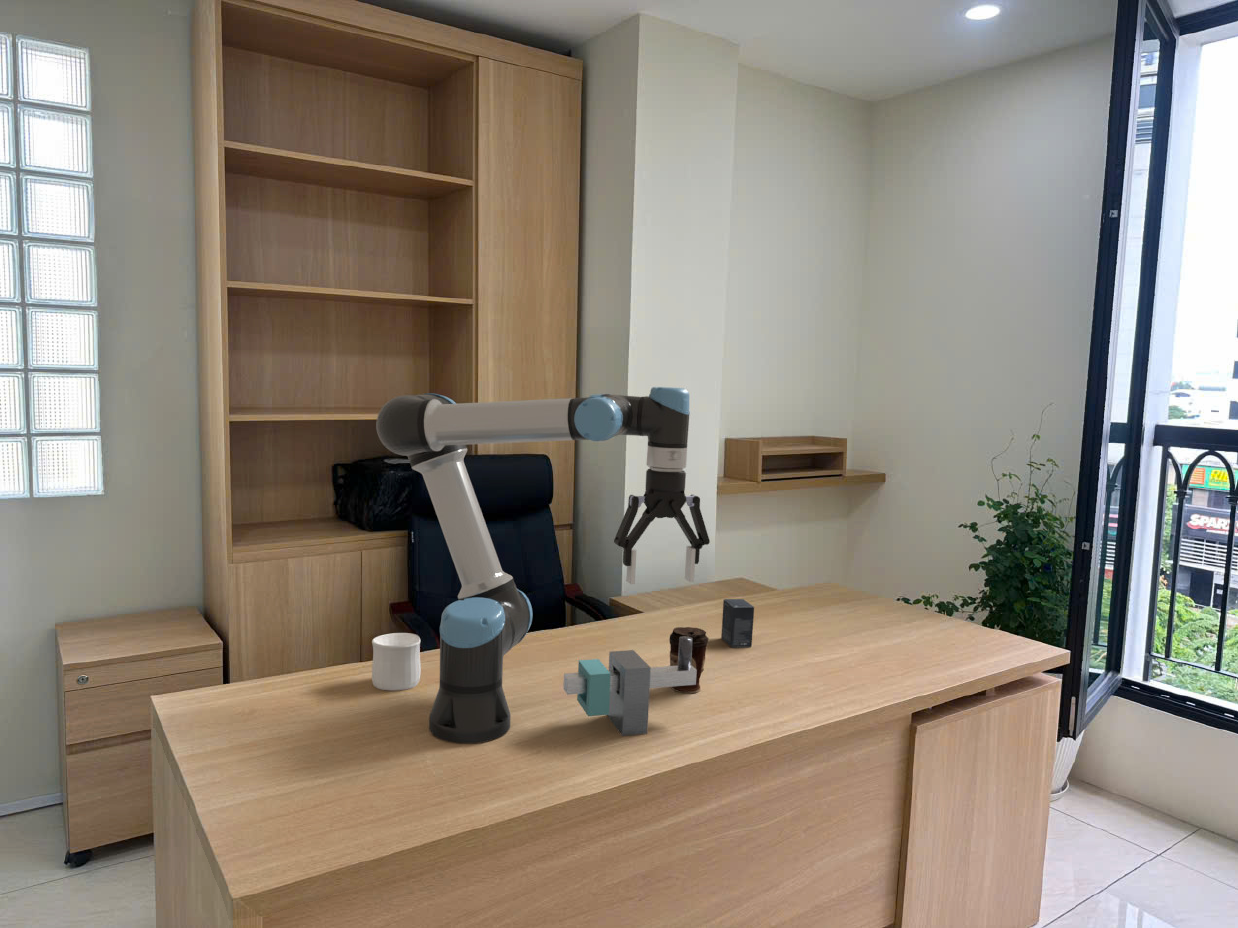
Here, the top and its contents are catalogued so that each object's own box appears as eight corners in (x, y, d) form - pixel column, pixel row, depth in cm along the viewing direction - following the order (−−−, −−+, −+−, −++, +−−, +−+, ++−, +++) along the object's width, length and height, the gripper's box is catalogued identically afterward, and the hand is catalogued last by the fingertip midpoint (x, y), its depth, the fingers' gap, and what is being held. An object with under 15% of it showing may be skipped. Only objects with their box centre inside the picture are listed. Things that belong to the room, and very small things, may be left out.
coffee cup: (693, 699, 180) (696, 639, 178) (659, 690, 184) (662, 631, 183) (711, 687, 187) (715, 629, 186) (678, 678, 192) (681, 622, 190)
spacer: (588, 716, 159) (589, 674, 158) (577, 700, 166) (578, 660, 165) (608, 714, 160) (610, 673, 159) (596, 698, 168) (598, 659, 167)
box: (752, 647, 216) (754, 606, 215) (730, 648, 214) (733, 607, 213) (741, 637, 223) (743, 598, 222) (720, 638, 222) (722, 598, 221)
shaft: (567, 694, 160) (569, 648, 159) (563, 688, 162) (565, 642, 161) (695, 684, 168) (698, 640, 167) (690, 679, 171) (692, 635, 170)
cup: (429, 684, 182) (430, 639, 181) (388, 696, 174) (388, 649, 173) (404, 672, 188) (405, 629, 187) (363, 683, 181) (363, 638, 180)
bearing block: (622, 736, 160) (625, 669, 159) (606, 715, 170) (609, 651, 168) (647, 733, 162) (650, 667, 160) (630, 713, 171) (633, 650, 170)
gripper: (612, 471, 155) (607, 588, 157) (731, 471, 162) (724, 584, 165) (600, 465, 162) (595, 578, 164) (715, 466, 169) (708, 574, 172)
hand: (660, 581), depth 165 cm, fingers open, 11 cm apart
